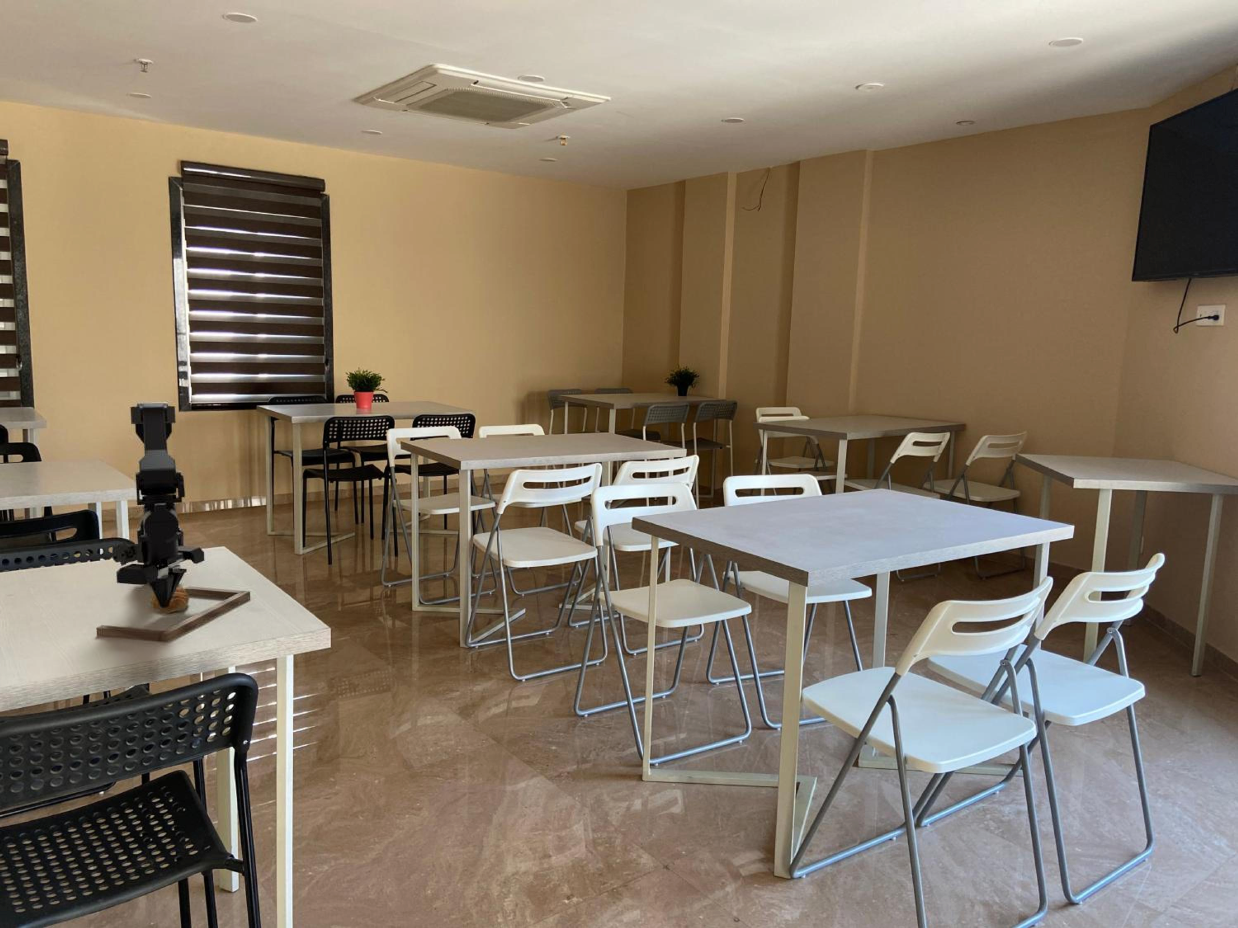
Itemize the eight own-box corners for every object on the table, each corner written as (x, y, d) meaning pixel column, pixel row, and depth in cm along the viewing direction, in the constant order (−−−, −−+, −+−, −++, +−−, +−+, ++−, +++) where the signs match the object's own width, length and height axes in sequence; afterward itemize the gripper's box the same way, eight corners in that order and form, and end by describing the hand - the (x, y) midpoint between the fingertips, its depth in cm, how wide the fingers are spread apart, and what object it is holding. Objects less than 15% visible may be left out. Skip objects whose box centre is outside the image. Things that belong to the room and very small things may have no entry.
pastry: (195, 611, 179) (194, 592, 179) (158, 617, 175) (156, 598, 175) (184, 599, 187) (183, 581, 186) (148, 605, 183) (147, 587, 182)
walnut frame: (189, 593, 190) (188, 586, 190) (250, 598, 188) (250, 591, 188) (96, 635, 164) (96, 627, 163) (166, 641, 162) (166, 633, 161)
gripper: (154, 517, 184) (158, 590, 186) (87, 537, 166) (92, 618, 168) (204, 520, 182) (207, 594, 185) (142, 541, 164) (146, 623, 166)
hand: (164, 607), depth 176 cm, fingers closed
